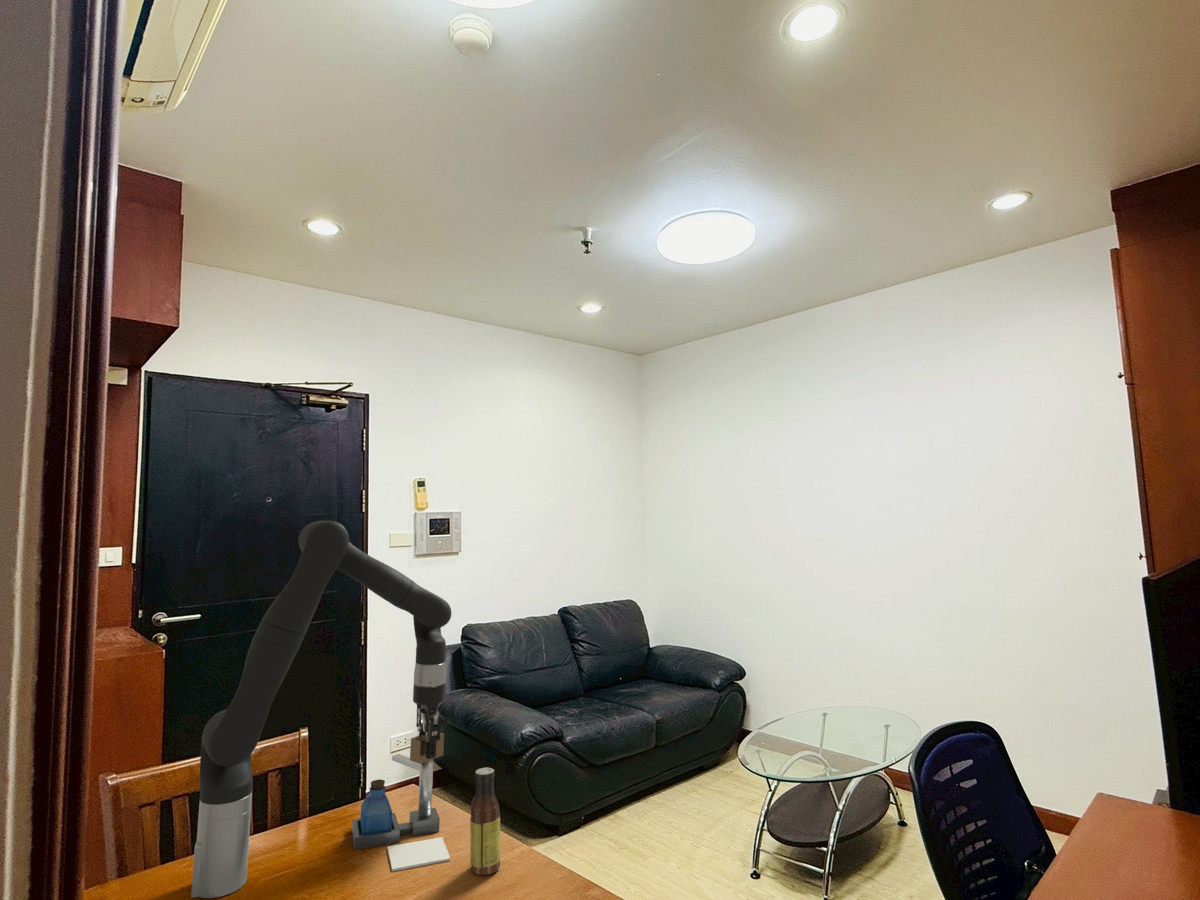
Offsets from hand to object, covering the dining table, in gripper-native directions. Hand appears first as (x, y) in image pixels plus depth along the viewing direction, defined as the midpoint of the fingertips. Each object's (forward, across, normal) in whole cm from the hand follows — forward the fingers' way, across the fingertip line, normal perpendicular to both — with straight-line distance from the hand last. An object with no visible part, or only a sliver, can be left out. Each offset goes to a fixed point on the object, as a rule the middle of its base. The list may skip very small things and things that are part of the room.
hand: (427, 752), depth 158 cm
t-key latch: (+14, -5, -2) cm, 15 cm away
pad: (+17, +12, -4) cm, 21 cm away
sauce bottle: (+17, +24, +7) cm, 30 cm away
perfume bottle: (+17, -1, -11) cm, 21 cm away
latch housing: (+17, -1, -6) cm, 18 cm away
